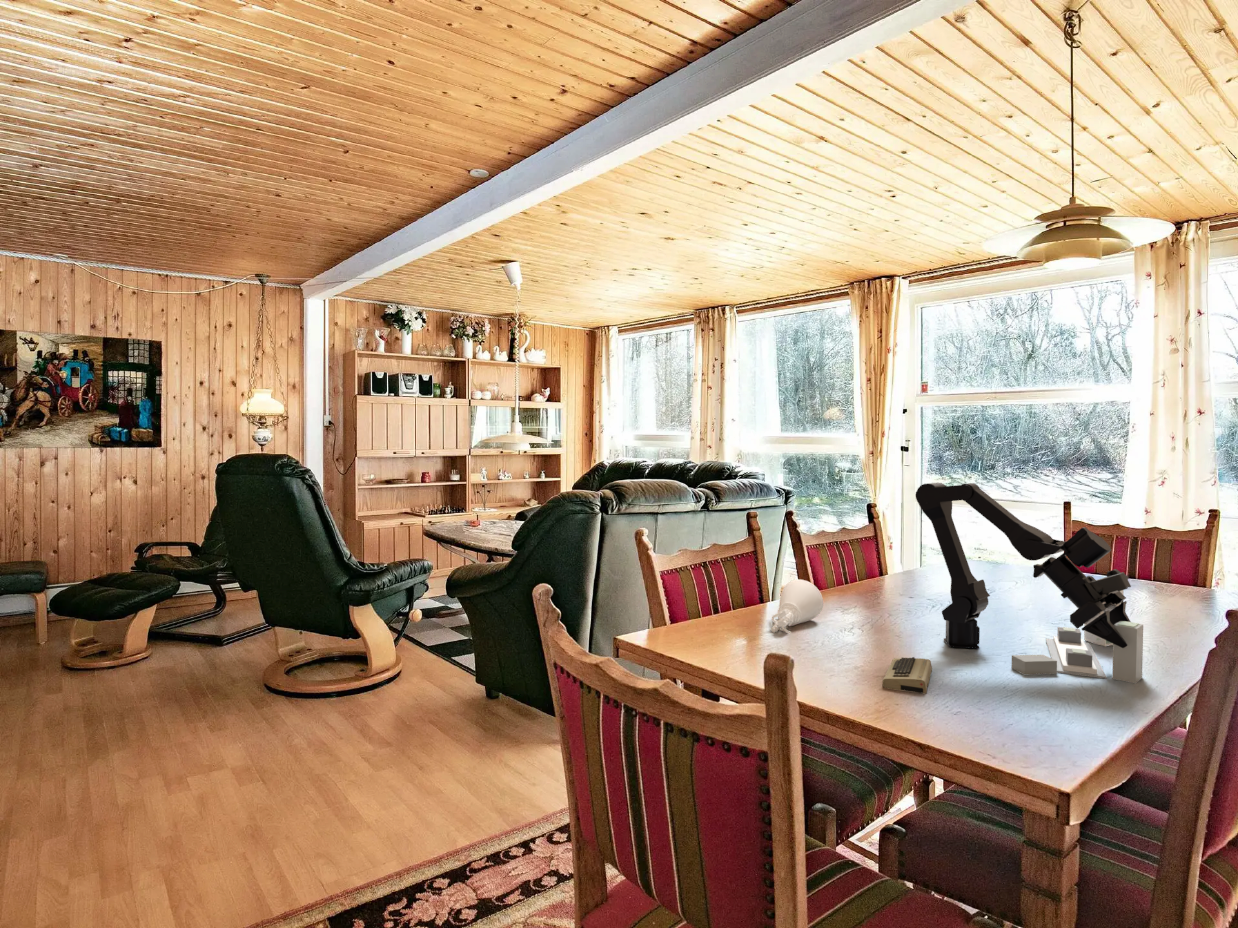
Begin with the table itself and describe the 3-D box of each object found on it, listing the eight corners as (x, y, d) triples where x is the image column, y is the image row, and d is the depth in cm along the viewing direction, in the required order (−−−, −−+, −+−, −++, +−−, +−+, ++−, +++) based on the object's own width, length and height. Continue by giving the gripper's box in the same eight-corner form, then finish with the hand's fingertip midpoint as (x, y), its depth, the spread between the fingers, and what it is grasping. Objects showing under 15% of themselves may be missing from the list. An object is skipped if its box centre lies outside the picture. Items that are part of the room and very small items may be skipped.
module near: (1067, 664, 155) (1067, 651, 155) (1065, 659, 159) (1065, 647, 159) (1092, 667, 153) (1092, 654, 153) (1089, 662, 157) (1090, 649, 157)
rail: (1055, 672, 154) (1055, 665, 154) (1045, 640, 179) (1046, 634, 179) (1106, 678, 150) (1106, 671, 150) (1089, 644, 175) (1089, 638, 175)
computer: (891, 667, 159) (891, 652, 159) (932, 673, 155) (932, 657, 155) (881, 689, 145) (881, 673, 145) (926, 696, 141) (926, 679, 141)
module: (1112, 678, 150) (1113, 623, 150) (1119, 673, 154) (1120, 619, 153) (1135, 683, 147) (1136, 627, 147) (1142, 677, 151) (1143, 623, 151)
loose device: (1024, 675, 153) (1024, 661, 153) (1011, 669, 157) (1011, 655, 157) (1056, 675, 153) (1057, 660, 153) (1042, 668, 158) (1043, 654, 158)
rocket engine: (778, 597, 183) (802, 571, 198) (747, 620, 189) (773, 593, 204) (810, 634, 181) (832, 605, 195) (778, 656, 187) (802, 626, 202)
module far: (1058, 641, 173) (1059, 629, 173) (1057, 637, 177) (1057, 626, 176) (1080, 643, 171) (1081, 632, 171) (1079, 639, 175) (1079, 628, 175)
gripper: (1088, 562, 147) (1154, 627, 139) (1114, 553, 160) (1177, 612, 152) (1044, 596, 153) (1105, 660, 145) (1073, 584, 166) (1131, 642, 158)
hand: (1131, 642), depth 150 cm, fingers open, 9 cm apart
